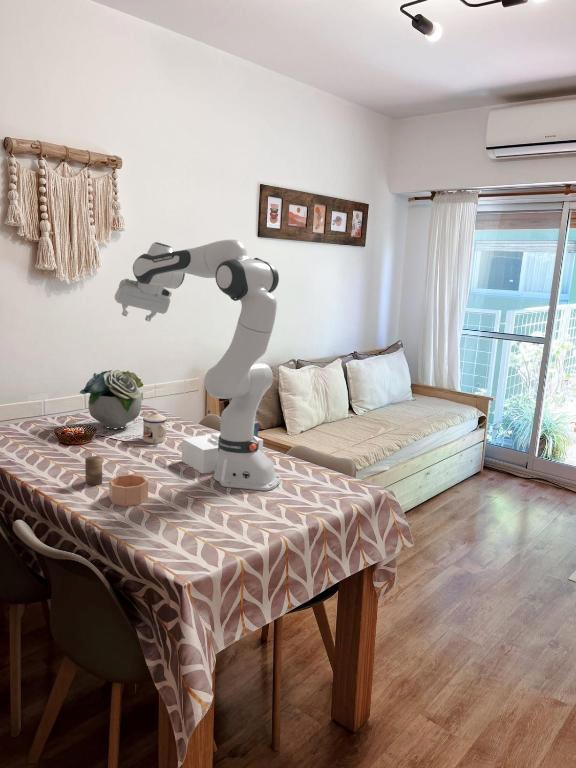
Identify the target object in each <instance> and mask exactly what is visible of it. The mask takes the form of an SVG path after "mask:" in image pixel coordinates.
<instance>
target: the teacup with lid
mask: <svg viewBox="0 0 576 768" xmlns="http://www.w3.org/2000/svg"><path fill="white" fill-rule="evenodd" d="M142 421H143V426H142V427H143V433H142V434H143V435H142V436H143V437H142V440H143V442H145V443H148V444H160V443H165V441H166V439H167V438H166V437H167V417H166V416H165V415H162V414H160V413H158V411H157V410H154V411H152V413H150V414H147V415H145V416H144V417H143V418H142Z"/></svg>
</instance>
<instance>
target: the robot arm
mask: <svg viewBox="0 0 576 768" xmlns="http://www.w3.org/2000/svg"><path fill="white" fill-rule="evenodd" d="M132 272H133V275H134V277H135V279H136V280H132V279H129V278H124V279H122V280H121V281H119V284H118V288H117V290H116V292H115V294H114V300H115V302H116V303H117V304H120V305H121V308H122V313H121V315H122V316H123V317H128V314H129V312H128V310H127V308H128V307H133V308H138V309H141V310H145V311H146V310H147V311H150V312H151V313H149V314H148V315H147V314H145V315H146V316H145V318H144V319H145V322H148V323H149V322H151V320H152V319H153V318H154V317H155V316H156V315H157V313H159V314H162V315H164V314H166V313H167V312H168V310H169V306H170V303H171V297H172V295H173V292H172V290H170V289H174V290H176V289H178V288H179V287H181V285H183V282H184V280H185V277H186V276H185V275H186V274H188V275H193V276H196V277H199V278H200V277H201V278H204V279H205V278H206V279H215V283H216V285H217V287H218V288H219V290H220V291H221V292H222V293H223V294H225V295H226V296H229V298H230V299H231V300H232V301H234V302H237V301H240V304H241V309H240V313H239V316H238V320H237V324H236V326H235V330H234V333H233V338H232V340H231V343H230V344H229V346H228V348H227V350H226V352H225V353H224V354H223V356H222V357H221V358H220V360H219V361H218V362H217V363H216V364H214V365H213V366H212V367H211V368H209V369H208V370H207V372H206V374H205V376H204V387H205V390H206V392H207V394H208V395H209V396H210V397H212V398H215V399H225V400H228V399H231V400H230V402H229V404H228V405H227V406H226V407H225V408H224V410H223V411H222V412H221V415H220V430H219V433H220V436H219V441H218V452H219V455H218V461H217V466H216V470H215V471H214V474H213V479H214V480H215V481H216V482H218V483H219V484H220V486H222V487H224V488H225V487H227V488H234V489H244V490H245V489H246V490H253V491H254V490H255V491H263V492H264V491H270V490H273V489H275V488H276V487H278V486H279V485H280V483H281V482H280V481H282V477H281V475H280V474H279V473H275V472H276V471H275V464H274V462H273V460H272V459H271V458H269V457H268V456H267V455H266V454H265V453H264V452H263V453H262V452H261V451H260V450H259V449H258V448H259V443H260V440H258V441H257V440H256V439H255V438H254V424H255V421H256V414H257V412H258V408H259V405H260V403H261V401H262V399H263V396H264V395H265V394H266V392H267V391H268V390H269V389H270V388H271V387H272V385H273V382H274V373H273V371H272V369H271V367H270V366H269V365H268V364H267V363H264V362H261V361H258V360H259V359H260V358H261V357H263V356H264V355H265V353H266V352H267V349H268V345H269V343H270V339H271V336H272V332H273V329H274V325H275V322H276V321H275V320H276V315H277V309H278V307H277V304H278V302H277V298H276V296H274V295H273V294H272V293H273V292H274V291H275V290H276V289H277V287H278V286H279V282H280V278H279V277H280V276H279V272H278V270H277V268H276V267H275V266H274V265H272V264H271V263H269V262H268V261H265V260H263V259H260V258H258V257H255V258H253V259H252V258H251V257H249V256H248V253H247V249H246V247H245V245H244V244H243V243H242V242H241V241H239V240H237V239H223V240H218V241H217V240H216V241H214V242H210V243H208V244H204V245H200V246H195V247H191V248H187V249H182V250H175V251H174V248H173V247H172V246H170V245H167V244H164V243H161V242H158V241H155V242H153V243H152V244H151V245H150V247H149V248H148V250H147V252H146V253H143V254H141V255H140V256H138V257H137V258H136V259H135V260H134V263H133V264H132ZM278 484H279V485H278ZM277 485H278V486H277Z"/></svg>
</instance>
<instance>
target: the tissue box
mask: <svg viewBox="0 0 576 768" xmlns="http://www.w3.org/2000/svg"><path fill="white" fill-rule="evenodd" d="M219 436H220V432H216V433H210V434H205V435H198V436H192V437H185V438H182V440H181V442H182V443H181V462H182V461H183V462H182V463H184V464H186V465H187V464H188V466H189V467H191V468H192V467H193V468H192V469H194V470H196V471H197V470H198V472H199V471H200V472H199V473H201V474H202V473H204V474H209V473H212V471H214V472H215V470H216V466H217V461H218V455H219V452H218V441H219ZM254 438H255V439H256V440H257V441H258V440H260V443H259V448H258V449H259V450H260V451H261V452H262V453H263V454H264V452H263V450H264V439H263V438H260V437H256V436H254ZM208 472H209V473H208Z"/></svg>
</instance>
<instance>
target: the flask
mask: <svg viewBox="0 0 576 768" xmlns="http://www.w3.org/2000/svg"><path fill="white" fill-rule="evenodd" d="M254 436H256V437H258V436H259V421H257V420H255V424H254ZM258 438H259V437H258Z"/></svg>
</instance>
